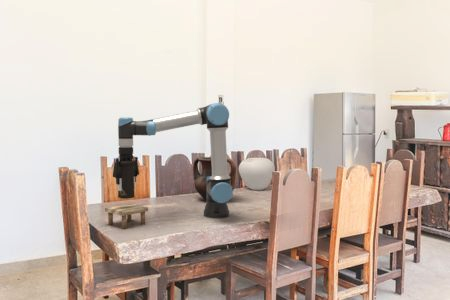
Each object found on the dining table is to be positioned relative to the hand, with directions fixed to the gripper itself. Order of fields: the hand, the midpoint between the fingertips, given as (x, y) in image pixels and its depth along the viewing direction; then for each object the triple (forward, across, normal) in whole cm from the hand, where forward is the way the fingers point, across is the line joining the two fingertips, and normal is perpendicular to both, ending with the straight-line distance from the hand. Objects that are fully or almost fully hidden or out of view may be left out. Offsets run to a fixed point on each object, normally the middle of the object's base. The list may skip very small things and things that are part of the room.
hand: (126, 189), depth 233 cm
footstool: (+19, 0, 0) cm, 19 cm away
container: (+4, 0, 0) cm, 4 cm away
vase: (+19, -137, -17) cm, 139 cm away
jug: (+19, -81, -11) cm, 84 cm away
